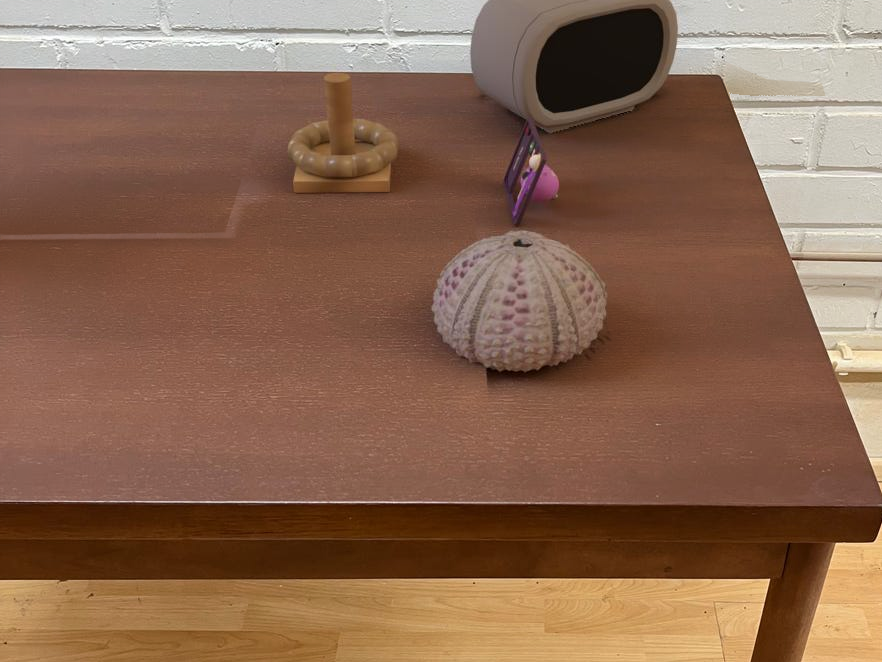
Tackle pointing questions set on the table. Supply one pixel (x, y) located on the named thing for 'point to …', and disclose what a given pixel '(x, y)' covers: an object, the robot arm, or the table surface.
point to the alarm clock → (572, 56)
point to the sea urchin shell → (519, 302)
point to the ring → (343, 163)
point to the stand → (341, 145)
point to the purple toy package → (529, 173)
